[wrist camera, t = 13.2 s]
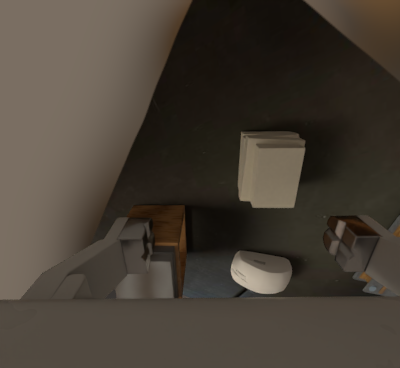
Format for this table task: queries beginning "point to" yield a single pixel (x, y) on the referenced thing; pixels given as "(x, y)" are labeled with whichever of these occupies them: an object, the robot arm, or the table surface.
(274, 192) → the beige flat block
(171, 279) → the oak stand
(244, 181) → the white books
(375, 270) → the robot arm
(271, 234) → the table surface
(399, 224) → the book
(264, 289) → the computer mouse
